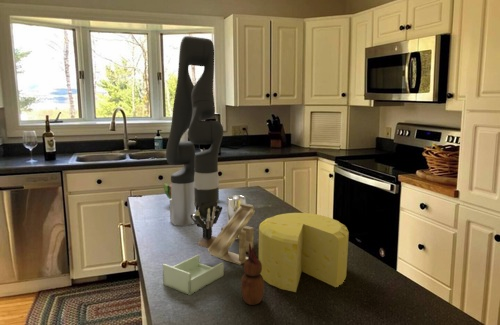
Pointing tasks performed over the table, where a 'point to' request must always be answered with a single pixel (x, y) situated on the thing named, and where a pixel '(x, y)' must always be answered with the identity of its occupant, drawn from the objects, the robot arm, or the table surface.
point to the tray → (191, 275)
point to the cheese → (302, 249)
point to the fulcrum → (241, 246)
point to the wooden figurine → (252, 280)
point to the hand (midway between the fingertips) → (207, 238)
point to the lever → (228, 231)
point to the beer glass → (234, 206)
